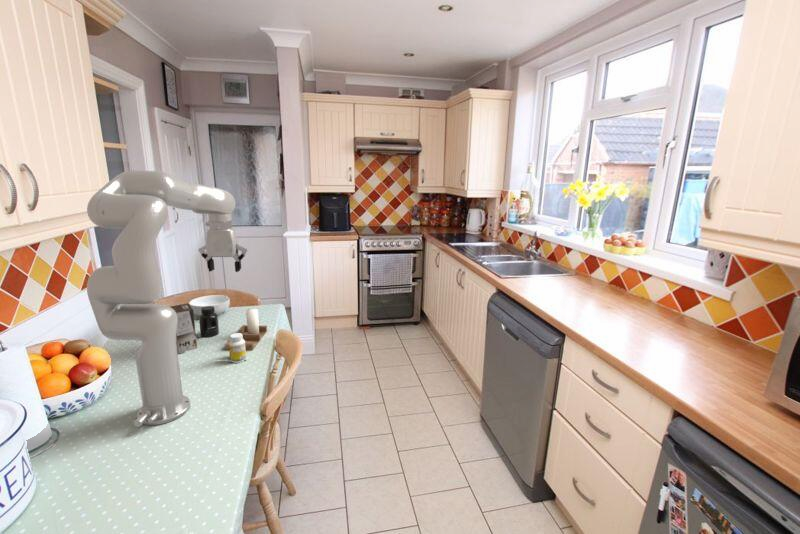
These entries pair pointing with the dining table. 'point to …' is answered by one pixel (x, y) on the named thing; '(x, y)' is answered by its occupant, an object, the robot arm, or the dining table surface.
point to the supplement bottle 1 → (208, 322)
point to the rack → (249, 337)
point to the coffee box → (185, 328)
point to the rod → (252, 321)
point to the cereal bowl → (210, 303)
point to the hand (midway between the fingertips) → (224, 270)
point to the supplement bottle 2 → (237, 348)
